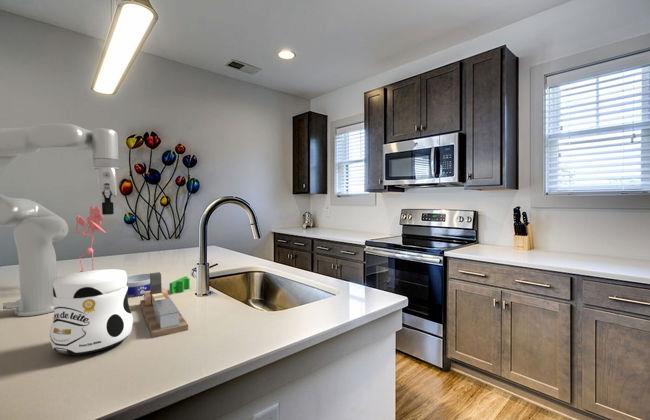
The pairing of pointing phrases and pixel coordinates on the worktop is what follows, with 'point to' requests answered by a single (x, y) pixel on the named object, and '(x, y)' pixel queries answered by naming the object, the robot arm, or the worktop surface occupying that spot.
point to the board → (153, 322)
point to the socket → (148, 296)
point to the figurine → (93, 222)
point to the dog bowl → (138, 284)
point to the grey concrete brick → (166, 313)
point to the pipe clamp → (180, 285)
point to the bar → (155, 287)
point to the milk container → (90, 311)
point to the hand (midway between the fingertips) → (107, 213)
